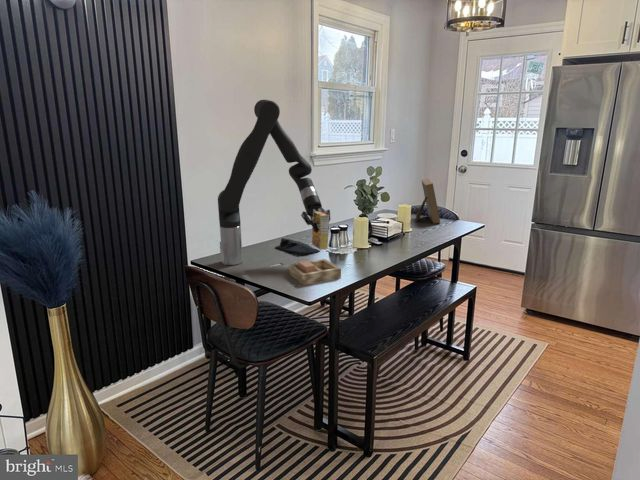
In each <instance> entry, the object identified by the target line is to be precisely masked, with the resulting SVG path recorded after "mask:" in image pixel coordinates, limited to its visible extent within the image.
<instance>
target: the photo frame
mask: <svg viewBox="0 0 640 480" xmlns="http://www.w3.org/2000/svg"><path fill="white" fill-rule="evenodd" d="M421 185H422V189H423V194H424V200H423V201H422V203H421V204H420V207H419V209H418V211H417V212H416V215H415V220H414V222H415V221H416V222H419V221H420V218H421V215H422V213H423V211H424V208H425V204H426V210H427V214H428V218H429V219H430V221H431V222H433V223H432V224H433V225H434V224H439V223H441V219H440V213H439V207H438V202H437V198H436V197H437V196H436V194H435V187H434V183H433V182H432V181H431V179H429V178H425V179H421ZM418 220H419V221H418Z"/></svg>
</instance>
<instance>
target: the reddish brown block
mask: <svg viewBox="0 0 640 480" xmlns="http://www.w3.org/2000/svg"><path fill="white" fill-rule="evenodd" d="M297 264H298V268H299V269H300V270H301V271H303V272H304V273H310V272H315V265H314V264H312V263H311V262H310V261H309V260H307V259H305V260H298V261H297Z"/></svg>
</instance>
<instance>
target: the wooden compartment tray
mask: <svg viewBox="0 0 640 480" xmlns="http://www.w3.org/2000/svg"><path fill="white" fill-rule="evenodd" d="M309 262H311V263H312V264H314V265H315V272H310V273H304V272H303V271H301V270H300V269H299V268H298V263H293V264H289V265H288V266H289V267H288V270H289V275H290V276H291V277H292V278H294V279H295V280H296V281H298V282H299V283H301V284H302V285H303V286H306V285H311V284H316V283H321V282H328V281H333V280H337V279H341V278H342V268H341V267H339V266H338V265H336V264H334V263H333V262H331V261H329V260H328V259H325V258H322V259H317V260H311V261H309Z"/></svg>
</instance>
